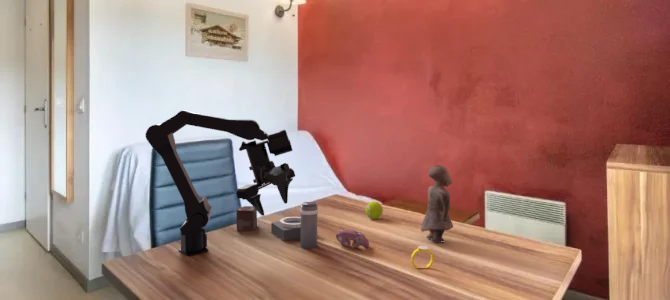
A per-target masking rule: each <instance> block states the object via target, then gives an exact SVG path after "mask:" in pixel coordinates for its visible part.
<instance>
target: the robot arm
mask: <svg viewBox="0 0 670 300" xmlns="http://www.w3.org/2000/svg"><path fill="white" fill-rule="evenodd" d="M185 126H192V127H193V126H194V127H198V128H203V129H210V130H215V131H220V132H226V133H227V134H232V135H233V136H236V137H238V138H241V139H244V140H247V141H248V142H246V141H244V140H243V141H241V145H240V147H239V148H238V151H240V152H241V151H244V150H245V151H246V154H247V157H248V160H249V163H250V166H249V167H248V168H249V170H250V171H252V173H253V176H254V179H252V181H253V183H254V184H245V185H243V186H240V187H239V188H238V187H237V189H236V197H237V199H242V200H243V201H244V200H246V202H248V203H249V204H251V206H253V207H254V208H255V209H256V210H257V213H258V214H259V215H260V216H263V217H264V216H265V211H264V208H263V205H262V202H261V193H259V192H260V190H261V189H264V188H265V187H268V186H270V185H271V184H272V186H276V188H277V190H278V192H279V196H280V198H281V200H282V201H283V203H284V204H288V197H289V196H288V194H289V186H290V183H291V182H292V181H293V180H294V178H295V177H296V173H295V170H294V169H293V168H291V167H290V166H289V163H286V162H283V163H282V164H280V165H278V166H276V165H275V162H274V161H273V160H270V156H269V154H270V155H271V154H272V155H274V157H276V156H280V155H284V154H286V153H291V152H293V148H292V147H293V146H292V143H291V140H290V139H289V137H288V133H287V131H286V129H282V130H279V131H277V132H275V133H270V134H267V131H264V130H262V129H261V127H260V124H259V123H258V122H257V121H256V120H254V119H247V118H246V119H241V118H239V119H238V118H237V119H235V118H233V119H229V118H225V117H219V116H214V115H208V114H203V113H197V112H192V111H190V110H188V109H187V110H185V109H184V110H180V111H178V112H177V113H176V114H175V115H173V116H172V117H170V118H169V119H167V120H165V121H163V122H162V123H156V124H153V125H151V126H149V127H148V128H147V130H146V131H145V139H146V140H147V143H148V144H149V145H150V147H152V149H153V150H154V151H155V153H157V154H158V155H159V156H160V157H161V158H162V160H163V162H164V165H165V167H166V168H167V170H168V173H169V174H170V177H171V178H172V180H173V183H174V184H175V187H176V189H177V191H178V193H179V195H180V196H181V198H182V201H183V204H184V206H183V207H184V212H185V217H186V219H185V220H184V222H182V223H183V224H182V225H180V228H179V232H180V248H178V251H179V252H180V253H182V254H184V255H186V256H188V257H189V256H193V255H198V254H202V253H206V252H208V251H209V248H207V247H208V234H207V233H206V229H205V228H204V227H206V226H207V225H208V222H209V221H210V218H211V216H212V208H213V206H211V205H210V203H209V200H208V197H207V196H203V197H201V196H200V195H199V194H198V192H197V190H196V188H195V186H194V184H193V182H192V180H191V178H190V176H189V174H188V172H187V170H186V167H185V166H184V164H183V161H182V160H181V158H180V155H179V154H178V153H179V152H178V150H177V147H176V146H177V145H176V140H175V136H174V134H175V133H176V132H178V131H179V130H181V129H182V128H184V127H185ZM257 140H259V141H260V142H257ZM266 145H267V147H266ZM267 148H268V150H267ZM268 152H269V153H268Z"/></svg>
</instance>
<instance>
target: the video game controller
mask: <svg viewBox="0 0 670 300" xmlns="http://www.w3.org/2000/svg"><path fill="white" fill-rule="evenodd" d="M335 238H336V240H337V241H338V242H339V243H341V244H343V246H344V247H350V245H351V246H352V247H353V248H354V249H359V247H361V246H362V247H364V248H368V247H369V245H370V241H369V240H368V238H367V237H366V236H365V234H364V233H362V232H358V231H356V230H355V229H350V228H349V229H343V228H341V229H340V230H339V231H338V232H336V234H335ZM351 241H352V244H351Z"/></svg>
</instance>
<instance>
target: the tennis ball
mask: <svg viewBox="0 0 670 300" xmlns="http://www.w3.org/2000/svg"><path fill="white" fill-rule="evenodd" d="M383 212H384V209H383V205H381V203H380V202H378V201H371V202H369V203H368V204H367V205H366V207H365V214H366V215H367V217H368V218H370V219H372V220H377V219H380V218H381V216H382V215H383Z"/></svg>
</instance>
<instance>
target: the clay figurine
mask: <svg viewBox="0 0 670 300" xmlns="http://www.w3.org/2000/svg"><path fill="white" fill-rule="evenodd" d="M428 176H429V177H430V178H431V179H432V180H433V182H434V183H433V185H430V186H429V187H428V188H427V204H426V205H427V210H426V213H425V216H424V218H423V221H422V223H421V227H420V232H422V233H423V232H426V231H429V234H428V235H427V236H426V237H425V238H426V239H429V240H430V242H431V243H442V242H441V241H445V239H444V238H443V235H444V233H445V231H449V230H451V229H453V228H454V224H453V222H452V220H451V217H450V214H449V211H450V209H451V203H450V202H451V201H450V200H451V193H450V192H449V191H448V190H447V189H446V188H445V187H447V188H448V187H449V186H450V185H452V180H451V174H450V173H449V170H448V169H447V168H446V167H445V166H443V165H434V166H432V167H431V168H430V169H429V171H428Z"/></svg>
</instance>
